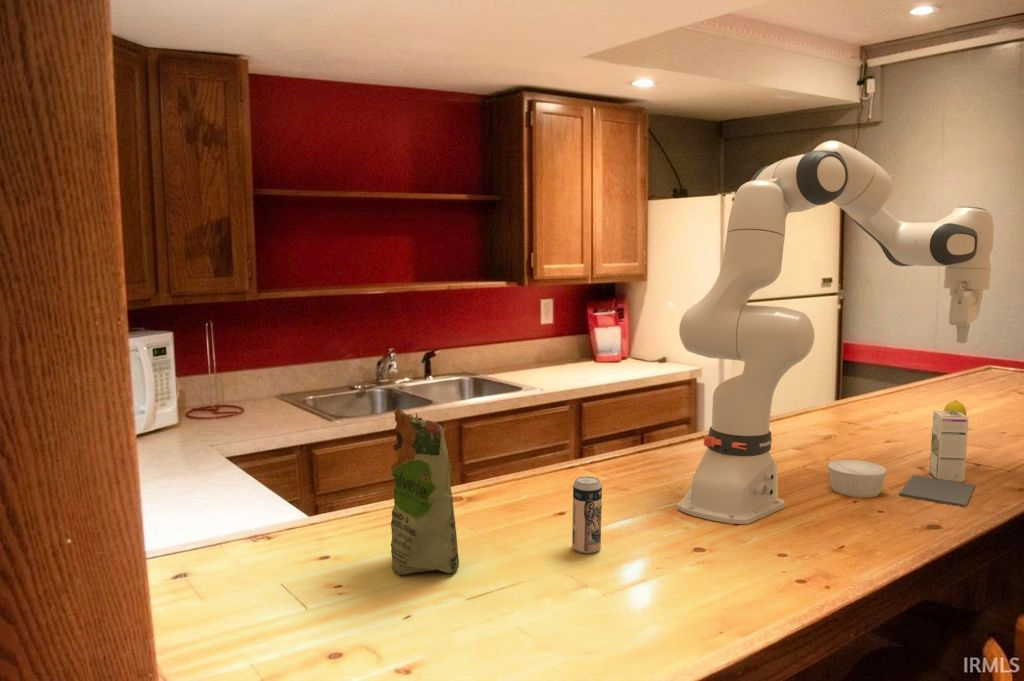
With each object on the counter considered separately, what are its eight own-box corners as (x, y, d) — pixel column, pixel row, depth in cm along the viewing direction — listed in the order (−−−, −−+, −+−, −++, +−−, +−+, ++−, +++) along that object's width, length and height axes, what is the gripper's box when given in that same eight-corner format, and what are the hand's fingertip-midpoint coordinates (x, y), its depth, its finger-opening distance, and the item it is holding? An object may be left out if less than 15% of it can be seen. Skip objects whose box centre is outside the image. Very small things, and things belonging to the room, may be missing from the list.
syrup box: (965, 482, 173) (970, 416, 171) (935, 480, 174) (940, 415, 172) (956, 474, 178) (961, 411, 177) (927, 473, 180) (932, 409, 178)
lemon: (965, 427, 224) (967, 399, 223) (964, 431, 219) (966, 403, 218) (943, 425, 227) (945, 397, 225) (941, 429, 222) (943, 400, 221)
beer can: (592, 557, 131) (594, 486, 129) (566, 551, 133) (568, 481, 132) (605, 547, 135) (607, 478, 133) (580, 542, 137) (581, 474, 136)
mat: (966, 507, 157) (966, 504, 157) (899, 495, 164) (899, 493, 163) (975, 487, 170) (975, 484, 169) (912, 477, 176) (913, 474, 176)
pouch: (449, 586, 120) (449, 422, 116) (373, 579, 122) (371, 418, 118) (466, 557, 130) (467, 406, 127) (396, 551, 132) (395, 403, 129)
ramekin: (817, 491, 166) (819, 466, 166) (838, 480, 174) (839, 456, 174) (873, 503, 159) (875, 478, 158) (892, 491, 167) (894, 466, 166)
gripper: (977, 283, 168) (972, 348, 170) (987, 279, 184) (982, 339, 186) (944, 282, 171) (939, 346, 173) (956, 278, 188) (952, 337, 190)
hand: (961, 342), depth 180 cm, fingers closed
